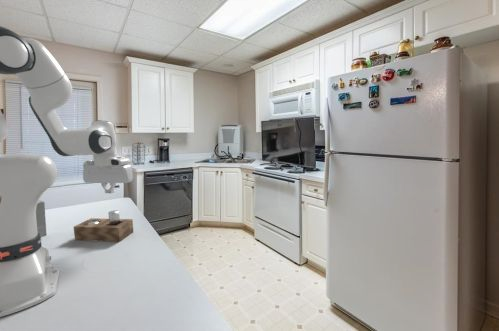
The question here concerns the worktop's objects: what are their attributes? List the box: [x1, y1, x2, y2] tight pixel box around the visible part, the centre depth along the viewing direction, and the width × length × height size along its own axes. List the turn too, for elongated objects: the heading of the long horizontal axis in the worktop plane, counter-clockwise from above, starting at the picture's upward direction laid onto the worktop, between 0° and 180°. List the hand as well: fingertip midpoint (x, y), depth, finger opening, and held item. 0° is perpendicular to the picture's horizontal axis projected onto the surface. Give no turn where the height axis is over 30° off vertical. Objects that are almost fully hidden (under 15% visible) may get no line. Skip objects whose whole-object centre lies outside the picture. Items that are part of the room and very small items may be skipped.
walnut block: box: [73, 217, 134, 243], centre depth 109 cm, size 20×10×6 cm, turn 84°
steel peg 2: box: [107, 209, 121, 225], centre depth 108 cm, size 4×4×6 cm
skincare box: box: [36, 199, 48, 238], centre depth 110 cm, size 8×7×16 cm
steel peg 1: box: [88, 221, 99, 225], centre depth 110 cm, size 4×4×6 cm
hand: (109, 193), depth 107 cm, fingers closed
